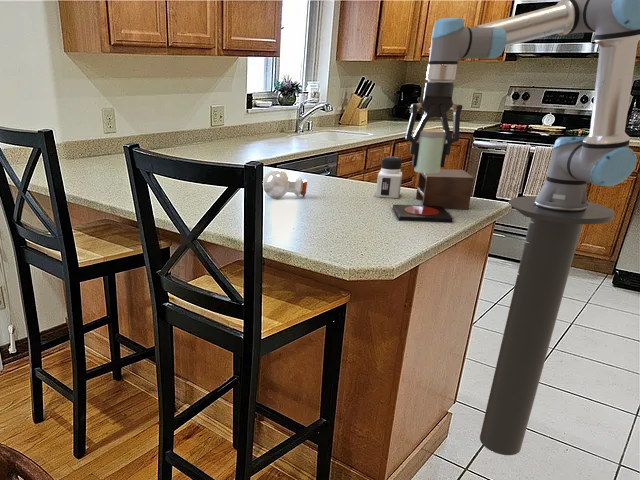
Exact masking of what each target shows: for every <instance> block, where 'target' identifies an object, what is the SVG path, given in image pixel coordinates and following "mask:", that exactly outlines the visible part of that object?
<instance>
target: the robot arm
mask: <svg viewBox="0 0 640 480" xmlns="http://www.w3.org/2000/svg"><path fill="white" fill-rule="evenodd" d="M582 33H583V34H585V33H594V38H593V42H595V43H596V44H597V45H598V47H599V51H598V61H597V69H596V76H595V77H596V78H595V84H594V94H593V100H592V101H593V102H592V111H591V119H590V126H589V134H588V135H586V136H560V137H558V138H557V139H556V140H555V142H554V144H553V148H552V151H551V157H550V161H549V166H548V169H547V174H546V179H545V182H544V184H543V186H542V187H541V189H540V190H539V192H538V194H537V195H536V196H537V197H536V200H535V203H534V204H535V206H537V207H540V208H543V209H547V210H553V211H560V212H582V211H585V210H586V207H587V205H588V204H587V202H588V200H587V199H588V198H587V189H586V187H587V183H590V184H593V185H594V186H600V187H614V186H618V185H619V184H621V183H623V182H624V181H625V180H626V179H627V178H629V177H630V176H631V174H632V173H633V171H634V170H635V168H636V165H637V159H638V158H637V153H635V152H634V150H633V149H631V148H630V142H631V141H630V140H631V137H630V136H629V135H628V134H627V133H626V125H627V118H628V112H629V105H630V99H631V98H630V97H631V91H632V84H633V77H634V70H635V63H636V56H637V50H638V43H639V41H640V0H559V1H558V2H557V3H556V4H555V5H552V6H547V7H544V8H540V9H536V10H533V11H529V12H524V13H521V14H517V15H513V16H509V17H506V18H502V19H497V20H494V21H489V22H486V23H483V24H478V25H475V26H471V27H469V26H465V20H464V18H462V17H444V18H439V19H437V20H435V22H434V25H433V28H432V33H431V37H430V40H431V41H430V48H429V58H428V64H427V71H426V78H425V80H426V81H427V82H425V85H424V86H425V87H424V91H423V98H422V100H421V101H420V102H419V103H418V102H417V103H412V104H410V117H409V121H408V124H407V129H406V132H405V136H404V139H405V140H406V141H408V142H410V148H409V153H410V155H412V159H411V160H412V161H411V166H412V167H414V168H415V167H416V161H417V154H418V147H419V143H418V139H419V136H420V132H421V131H422V130H423V129H425V126H426V124H427V123H428V121H429V120H430V118H439V119H440V121H441V126H442V130H444V131H447V133H446V137H445V142H444V148H443V155H442V161H441V167H440V168H445V164H446V157H447V156H450V154H451V148H452V144H453V143H457V142H459V141H460V129H461V128H460V125H461V113H462V110H463V105H462V104H457V103H454V102H453V94H454V88H455V83H454V81H455V80H456V75H457V70H458V63H459V60H461V59H463V60H464V59H467V60H468V59H486V60H489V59H497V58H499V57H500V56H501V55H502V54H503V52H504V51H505V48H507V47H509V46H514V45H517V44H520V43H521V44H522V43H525V42H530V41H533V40H537V39H541V38H544V37H548V36H549V37H550V36H553V35H558V36H560V37H561V36H566V35H572V34H582ZM421 108H422V110H423V112H424V113H423V115H422V118H421V119H420V121H419V123H418V125H417V127H416V129H415V131H414V127H415V123H416V120H417V117H418V112H419V111H420V109H421ZM451 109H452V112H453V114H452V115H453V118H452V134H451V130H450V125H449V120H448V116H447V115H448V114H447V113H448V112H449V111H450V110H451ZM413 131H414V133H413Z"/></svg>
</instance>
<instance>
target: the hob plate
mask: <svg viewBox="0 0 640 480" xmlns="http://www.w3.org/2000/svg"><path fill="white" fill-rule="evenodd" d="M392 209H393V211H394V214H395V216H396V217H397V219H398V221H400V222H401V221H405V222H431V223H453V217H452V216H451V214H450V213H449V212H448V211H447V209H444V208H443V207H442V206H425V205H422V204H392Z"/></svg>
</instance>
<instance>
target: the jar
mask: <svg viewBox="0 0 640 480" xmlns="http://www.w3.org/2000/svg"><path fill="white" fill-rule="evenodd" d="M446 133H447V131H444V130H443V129H433V128H427V129H426V128H423V130H422V131H421V132H420V136H419V138H418V140H417V142H418V143H419V147H418V154H417V161H416V167H415V166H414V169H413V172H415V173H418V174H419V173H428V174H434V173H439V172H440V169H441V168H442V167H441V161H442V155H443V148H444V143H446V139H445V137H446Z"/></svg>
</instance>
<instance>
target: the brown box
mask: <svg viewBox="0 0 640 480" xmlns="http://www.w3.org/2000/svg"><path fill="white" fill-rule="evenodd" d="M474 180H475V177H474V176H472V175H471V174H470V173H468V172H467V171H466V170H464V169H449V168H448V169H446V168H445V169H443V168H440V172H439V173H434V174H428V173H419V172H418V179H417V186H416V187H417V188H416V193H415V199H416V200H422V204H421V205H425V206H442V207H443V208H444V209H445V210H469V209H470V203H471V197H472V191H473V187H474Z"/></svg>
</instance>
